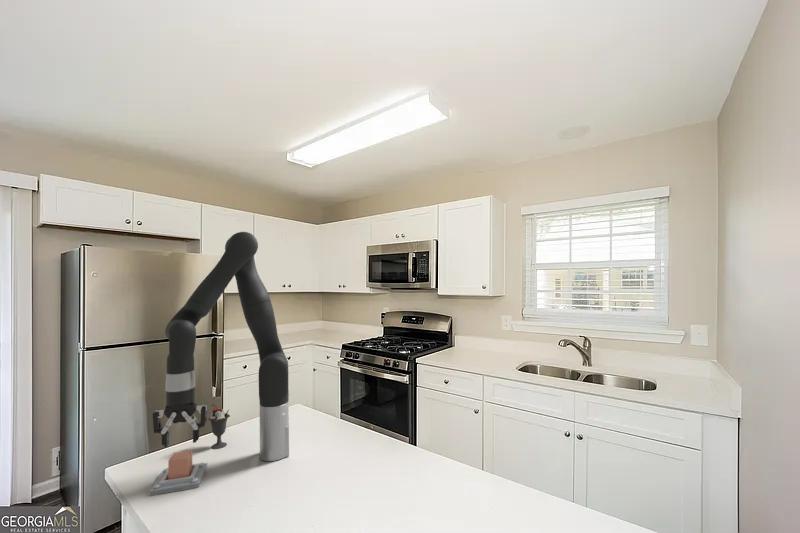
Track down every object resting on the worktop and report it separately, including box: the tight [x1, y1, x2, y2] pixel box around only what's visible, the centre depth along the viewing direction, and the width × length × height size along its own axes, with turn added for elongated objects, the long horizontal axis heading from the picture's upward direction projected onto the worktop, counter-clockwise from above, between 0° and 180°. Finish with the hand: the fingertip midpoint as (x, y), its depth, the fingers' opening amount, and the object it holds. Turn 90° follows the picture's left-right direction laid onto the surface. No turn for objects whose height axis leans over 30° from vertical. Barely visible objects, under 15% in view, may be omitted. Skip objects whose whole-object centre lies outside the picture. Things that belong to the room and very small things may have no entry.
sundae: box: [207, 403, 231, 450], centre depth 129 cm, size 7×7×15 cm
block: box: [167, 449, 193, 480], centre depth 107 cm, size 5×5×6 cm
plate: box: [149, 462, 208, 496], centre depth 107 cm, size 12×12×2 cm
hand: (180, 443), depth 107 cm, fingers open, 7 cm apart
